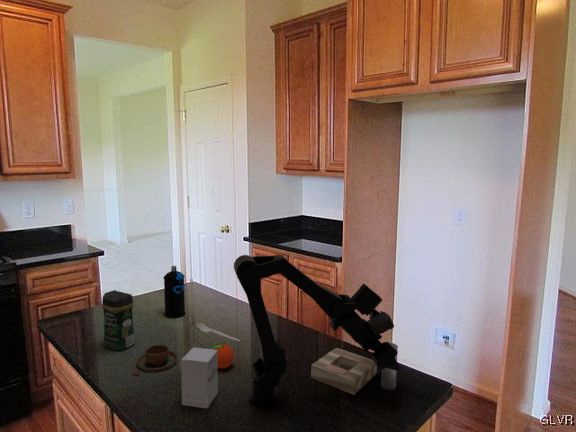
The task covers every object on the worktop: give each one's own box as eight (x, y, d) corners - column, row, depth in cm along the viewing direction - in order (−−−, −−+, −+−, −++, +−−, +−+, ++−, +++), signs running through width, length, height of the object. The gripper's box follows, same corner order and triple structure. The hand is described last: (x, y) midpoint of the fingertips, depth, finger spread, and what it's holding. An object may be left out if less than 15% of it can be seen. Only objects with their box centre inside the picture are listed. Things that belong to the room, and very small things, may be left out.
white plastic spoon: (236, 344, 143) (236, 339, 142) (195, 329, 153) (195, 324, 153) (242, 341, 145) (242, 336, 145) (201, 326, 156) (201, 321, 156)
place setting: (175, 349, 138) (175, 332, 138) (206, 372, 124) (206, 354, 123) (122, 365, 127) (121, 347, 126) (149, 394, 112) (148, 373, 111)
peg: (392, 391, 114) (394, 350, 112) (378, 386, 116) (380, 346, 115) (397, 385, 117) (400, 345, 115) (384, 380, 120) (386, 341, 118)
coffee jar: (99, 346, 138) (97, 293, 135) (119, 337, 145) (117, 286, 142) (119, 353, 133) (116, 298, 131) (139, 344, 140) (137, 291, 137)
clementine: (208, 374, 121) (207, 351, 120) (206, 363, 128) (206, 341, 127) (235, 371, 124) (235, 348, 122) (232, 360, 130) (232, 338, 129)
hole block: (353, 394, 112) (354, 380, 111) (311, 377, 120) (311, 364, 120) (376, 373, 123) (376, 360, 123) (335, 359, 131) (336, 347, 131)
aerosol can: (160, 316, 164) (158, 267, 161) (171, 309, 172) (170, 262, 169) (178, 319, 162) (177, 269, 159) (189, 312, 169) (188, 264, 167)
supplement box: (208, 409, 105) (207, 362, 103) (181, 405, 106) (180, 359, 105) (218, 393, 112) (218, 349, 110) (193, 389, 113) (192, 346, 112)
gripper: (392, 318, 103) (429, 355, 107) (362, 294, 121) (395, 326, 125) (361, 351, 103) (400, 387, 107) (336, 321, 121) (370, 353, 125)
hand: (391, 361), depth 116 cm, fingers open, 9 cm apart
